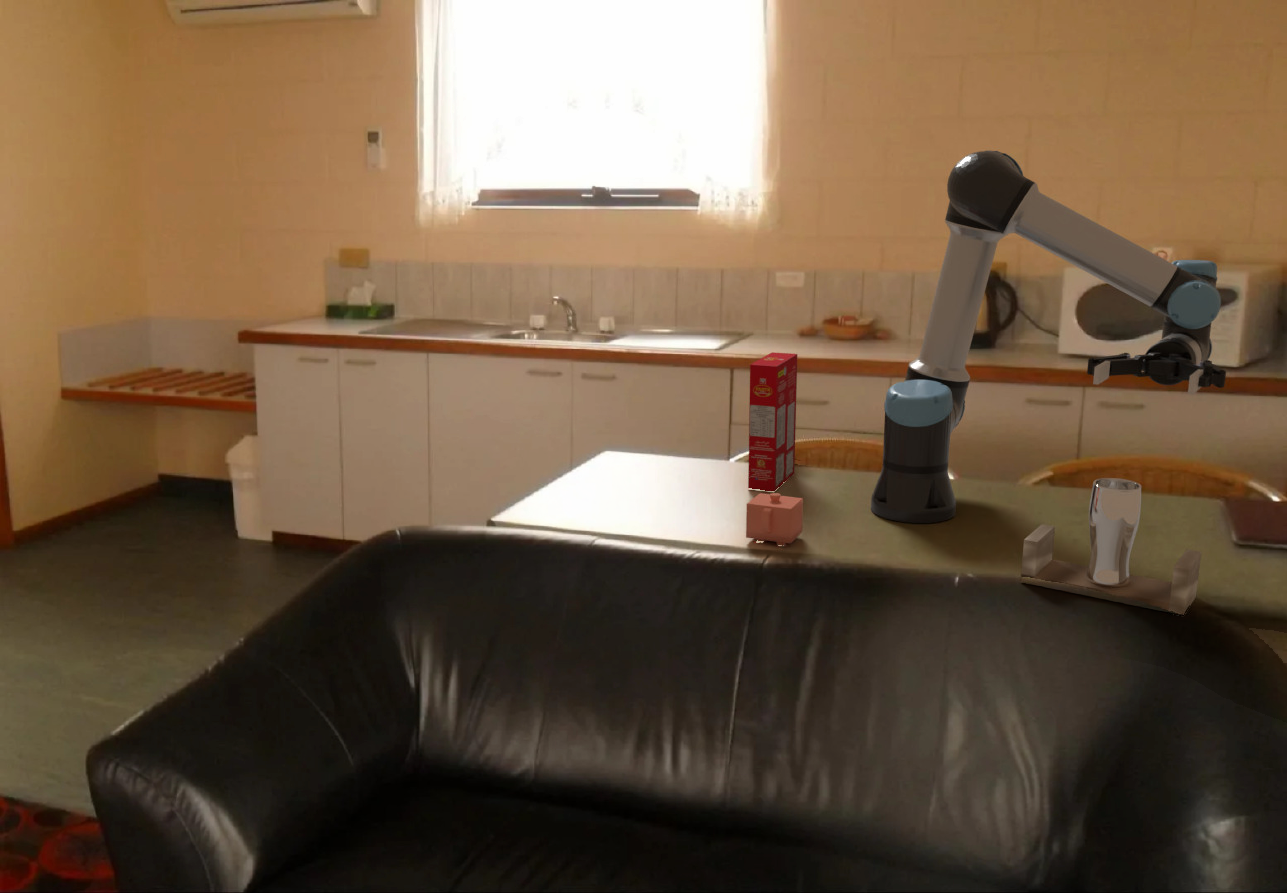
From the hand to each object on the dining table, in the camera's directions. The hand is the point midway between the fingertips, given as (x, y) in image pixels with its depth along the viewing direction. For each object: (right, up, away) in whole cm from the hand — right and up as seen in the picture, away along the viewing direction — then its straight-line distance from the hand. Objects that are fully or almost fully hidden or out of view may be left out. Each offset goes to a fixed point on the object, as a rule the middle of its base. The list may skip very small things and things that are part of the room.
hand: (1142, 380), depth 173 cm
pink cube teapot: (-53, -26, +22) cm, 63 cm away
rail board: (-6, -32, -2) cm, 32 cm away
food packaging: (-50, -17, +56) cm, 77 cm away
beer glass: (-6, -30, -2) cm, 31 cm away
